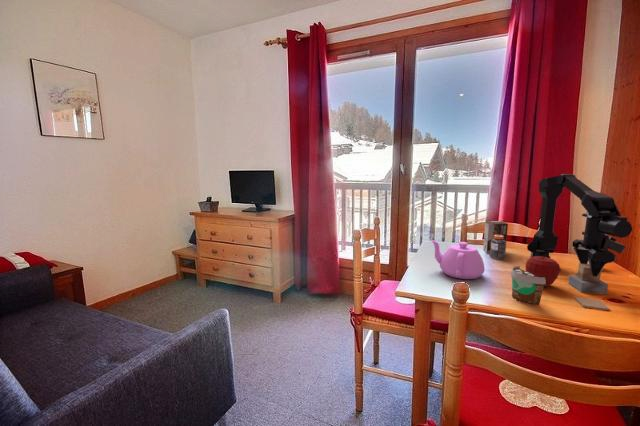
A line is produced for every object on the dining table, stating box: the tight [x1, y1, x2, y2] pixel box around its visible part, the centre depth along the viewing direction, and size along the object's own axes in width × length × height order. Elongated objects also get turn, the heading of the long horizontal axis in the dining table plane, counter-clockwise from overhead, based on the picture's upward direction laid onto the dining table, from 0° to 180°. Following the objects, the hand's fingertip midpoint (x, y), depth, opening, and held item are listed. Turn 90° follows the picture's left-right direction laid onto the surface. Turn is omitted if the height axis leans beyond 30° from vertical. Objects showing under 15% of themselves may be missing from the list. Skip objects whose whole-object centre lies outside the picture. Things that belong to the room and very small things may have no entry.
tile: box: [573, 296, 611, 311], centre depth 101 cm, size 7×7×1 cm
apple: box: [525, 256, 561, 288], centre depth 116 cm, size 11×11×12 cm
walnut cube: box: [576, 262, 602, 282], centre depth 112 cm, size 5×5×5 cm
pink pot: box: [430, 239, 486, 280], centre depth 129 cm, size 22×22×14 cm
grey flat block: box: [567, 274, 609, 295], centre depth 113 cm, size 8×8×4 cm
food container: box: [509, 265, 546, 306], centre depth 104 cm, size 12×6×10 cm, turn 5°
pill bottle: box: [489, 235, 505, 260], centre depth 149 cm, size 6×6×11 cm
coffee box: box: [482, 220, 509, 255], centre depth 158 cm, size 9×6×16 cm
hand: (589, 271), depth 112 cm, fingers open, 9 cm apart
